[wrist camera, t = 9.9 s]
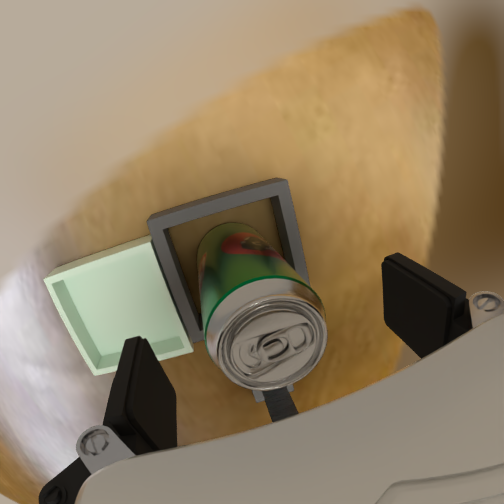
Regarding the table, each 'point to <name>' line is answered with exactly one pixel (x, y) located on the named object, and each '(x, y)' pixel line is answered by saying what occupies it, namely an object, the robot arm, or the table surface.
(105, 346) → the tray
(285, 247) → the collar
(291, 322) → the soda can
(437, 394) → the robot arm
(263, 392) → the post
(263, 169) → the table surface
